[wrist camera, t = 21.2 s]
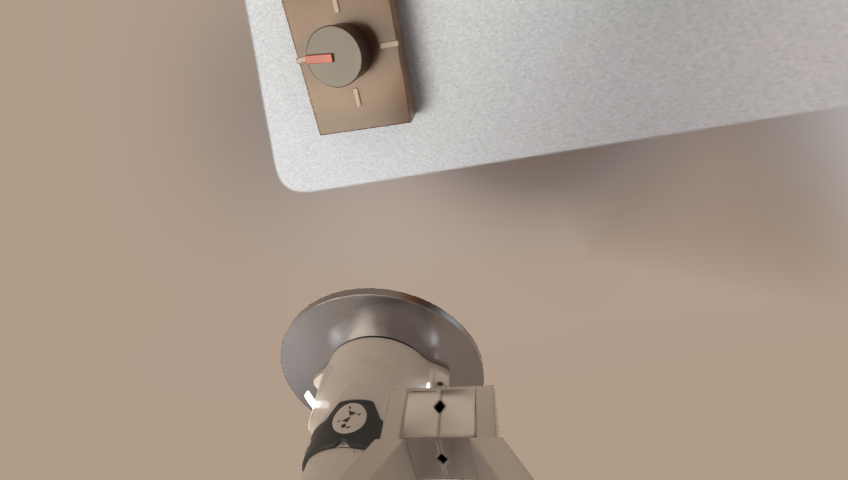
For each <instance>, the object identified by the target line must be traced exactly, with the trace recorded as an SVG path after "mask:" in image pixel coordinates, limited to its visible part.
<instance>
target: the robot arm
mask: <svg viewBox="0 0 848 480" xmlns="http://www.w3.org/2000/svg"><path fill="white" fill-rule="evenodd" d="M313 383H314V385H315V387H316V388H317V390H318V391H317V395H316V398H315V400H314V398H313V397H312V395H311V394H310V392H309V391H307V392H306V394H305V398H306V399H307V401H308V402H309V404H310V405H311V407H312V412H311V415H310V419H309V422H308V429H309V430H310V432H311V434H312V437H311V439H310V442H309V443H308V445H307V448H306V451H305V456H304V460H303V464H302V471H303V474H302V477H301V480H431V479H461V480H462V479H463V480H464V479H465V480H534V479H533V477H532V476H531V475H530V473H529V472H528V471H527V470H526V468H525V467H524V465H523V464H522V463H521V462H520V460H519V459H518V458H517V456H516V455H515V453H514V452H513V451H512V449H511V448H510V447H509V445H508V444H507V443H506V441H505V440H504V439H503V438H502V437H500V436H499V425H498V416H497V407H496V398H495V390H494V385H492V386H459V387H449V384H450V372H449V370H448V369H446V368H444V367H442V366H440V365H438V364H435V363H432V362H430V361H428V360H427V359H426V358H424V357H423V356H422V355H421V354H420V353H418V352H417V351H416V350H414V349H413V348H411V347H409V346H407V345H405V344H403V343H401V342H398V341H395V340H391V339H387V338H380V337H366V338H359V339H355V340H352V341H349V342H347V343H345V344H343V345H342V346H340V347H339V348H338V349H337V350H336V351H335V352H334V353H333V354H332V356H331V358H330V360H329V363H328V364H327V366H326V367H324V368H323V369H321V370H320V371H318V372H317V373H316V374H315V377H314V381H313Z"/></svg>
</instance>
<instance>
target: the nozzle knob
mask: <svg viewBox="0 0 848 480" xmlns="http://www.w3.org/2000/svg"><path fill="white" fill-rule="evenodd" d="M305 59H306V64H308V65H309V68H310V70H311V72H312V73H313V75H314V76H315V77H316V78H317V79H318V80H319V81H320V82H322V83H323V84H325V85H327V86H330V87H337V88H339V87H345V86H347V85H349V84H351V83H352V82H354V81H355V80H357V79H358V78H360V77H361V76H362V75H364V74H365V73H366V71H367V70H368V69H369V67H370V64H371V61H372V47H371V44H370V41H369V39H368V37H367V36H366V34H365V33H364V32H363V31H362V30H361V29H360V28H358V27H357V26H355V25H353V24H349V23H339V24H333V25H328V26H324V27H321V28H319V29H317V30H316V31H315V32H314V33H313V34H312V35H311V37H310V38H309V41H308V43H307V47H306V55H305Z"/></svg>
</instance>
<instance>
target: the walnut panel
mask: <svg viewBox="0 0 848 480" xmlns="http://www.w3.org/2000/svg"><path fill="white" fill-rule="evenodd" d="M282 3H283V7H284V10H285V14H286V17H287V21H288V24H289V28H290V31H291V35H292V38H293V42H294V45H295V49H296V52H297V55H298V58H296V60H297V63H300V66H301V69H302V73H303V76H304V80H305V83H306V87H307V90H308V94H309V97H310V101H311V104H312V108H313V111H314V115H315V118H316V122H317V125H318V128H319V132H320V135H326V134H333V133H340V132H347V131H354V130H361V129H368V128H375V127H382V126H389V125H396V124H403V123H410V122H412V120H413V118H414V116H415V114H416V113H415V107H414V101H413V95H412V90H411V84H410V78H409V72H408V66H407V60H406V55H405V49H404V43H403V37H402V31H401V25H400V19H399V14H398V8H397V2H396V0H282ZM339 23H349V24H353V25H355V26H357V27H358V28H360V29H361V30H362V31H363V32H364V33H365V34H366V36H367V37H368V39H369V41H370V44H371V47H372V61H371V64H370V67H369V69H368V70H367V71H366V73H365V74H364V75H362V76H361V77H360V78H358V79H357V80H355V81H354V82H352V83H351V84H349V85H347V86H345V87H339V88H337V87H330V86H327V85H325V84H323V83H322V82H320V81H319V80H318V79H317V78H316V77H315V76H314V75H313V73H312V72H311V70H310V68H309V65H308V64H306V59H305V55H306V47H307V43H308V41H309V38H310V37H311V35H312V34H313V33H314V32H315V31H316V30H317V29H319V28H321V27H324V26H328V25H333V24H339Z"/></svg>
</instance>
